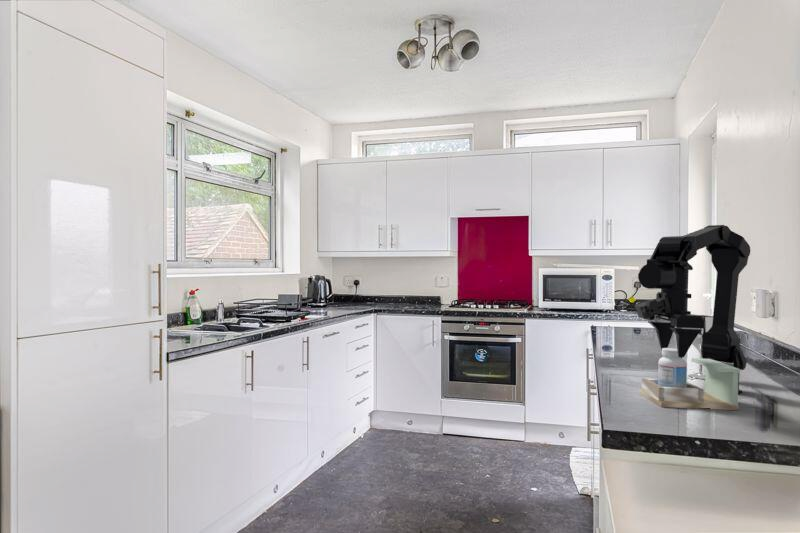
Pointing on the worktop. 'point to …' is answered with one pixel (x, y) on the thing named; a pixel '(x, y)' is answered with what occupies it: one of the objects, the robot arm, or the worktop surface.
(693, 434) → the worktop surface
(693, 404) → the socket board
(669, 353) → the pill bottle
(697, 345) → the wineglass
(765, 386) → the worktop surface
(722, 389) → the awning
